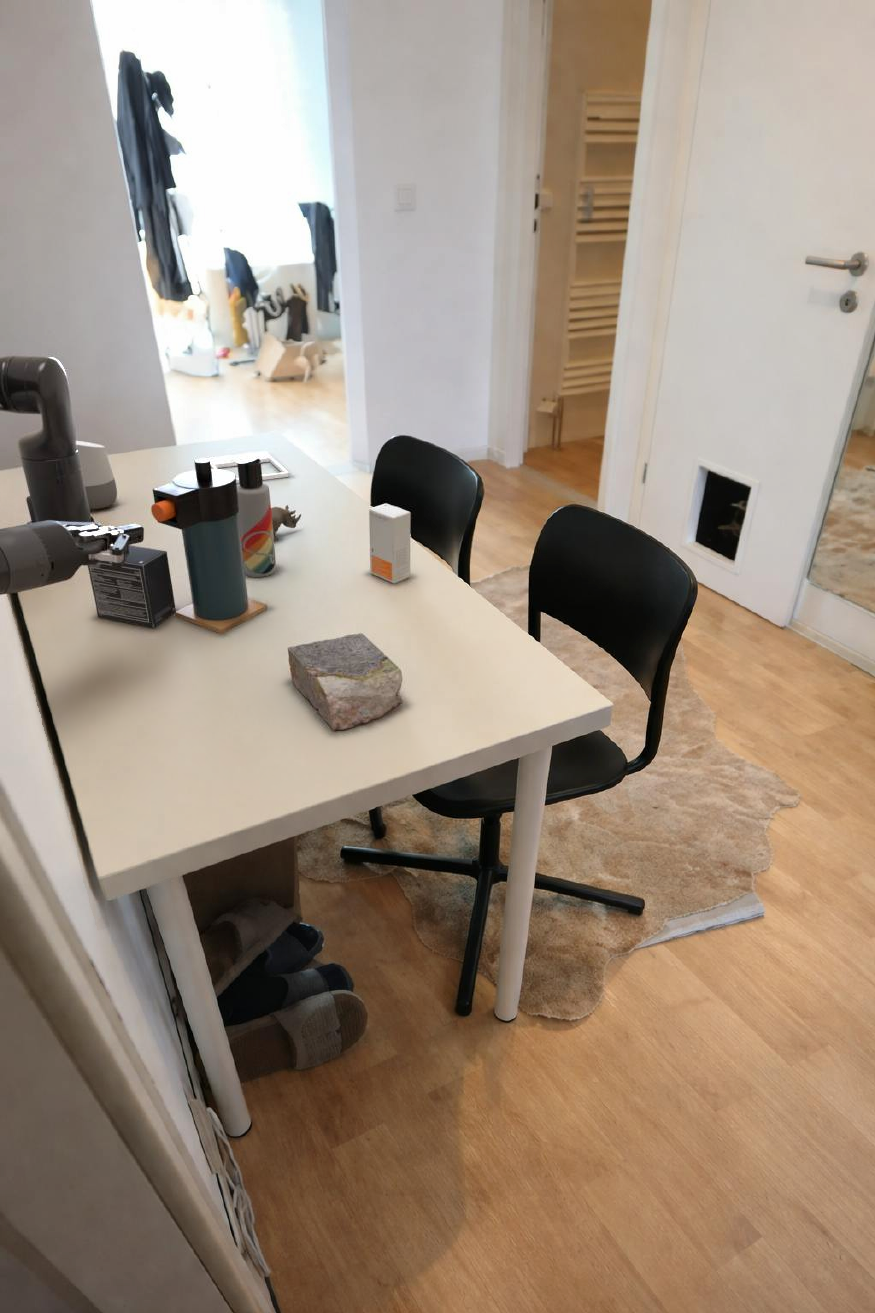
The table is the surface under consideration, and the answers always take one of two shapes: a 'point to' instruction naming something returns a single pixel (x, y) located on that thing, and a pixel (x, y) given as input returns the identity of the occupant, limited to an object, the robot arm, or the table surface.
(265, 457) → the photo frame
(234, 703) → the table surface
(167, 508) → the button
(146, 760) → the table surface
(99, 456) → the smart speaker
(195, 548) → the drink bottle
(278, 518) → the rhino figurine
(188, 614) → the coaster
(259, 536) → the lotion bottle
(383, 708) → the geological specimen
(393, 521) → the cosmetic box
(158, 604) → the small box
